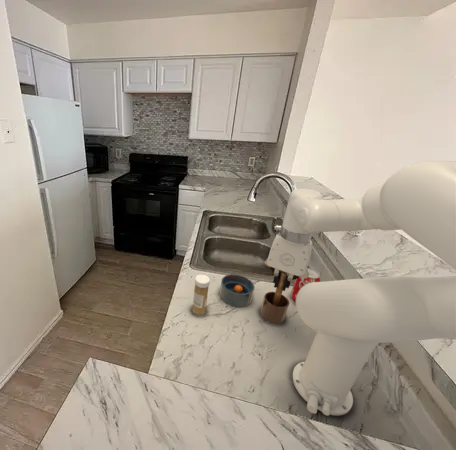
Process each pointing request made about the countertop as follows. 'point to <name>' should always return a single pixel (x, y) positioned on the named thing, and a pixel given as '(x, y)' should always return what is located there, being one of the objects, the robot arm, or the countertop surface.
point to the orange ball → (238, 289)
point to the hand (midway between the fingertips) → (280, 286)
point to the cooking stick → (279, 288)
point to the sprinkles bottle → (200, 294)
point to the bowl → (233, 297)
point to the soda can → (304, 282)
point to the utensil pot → (274, 308)
